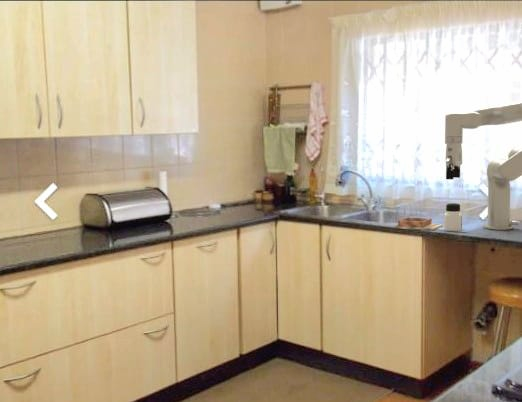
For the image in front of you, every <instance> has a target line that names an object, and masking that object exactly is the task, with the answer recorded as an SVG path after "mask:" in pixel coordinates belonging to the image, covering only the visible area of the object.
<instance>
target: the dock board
mask: <svg viewBox="0 0 522 402" xmlns="http://www.w3.org/2000/svg"><path fill="white" fill-rule="evenodd" d="M432 222H433V221H432V218H429V217H412V216H410V217H409V216H407V217H404V218H401V219H399V220H398V221H397V225H395V229H403V230H404V229H405V230H414V229H421V230H420V231H431V232H433V230H434V231H436V230H438V229H440V228H441V227H444V224H443V223H432ZM437 228H438V229H437ZM435 229H436V230H435Z"/></svg>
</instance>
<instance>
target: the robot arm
mask: <svg viewBox="0 0 522 402" xmlns="http://www.w3.org/2000/svg"><path fill="white" fill-rule="evenodd" d="M444 117H445V120H444V122H445V123H444V125H445V128H444V131H445V132H444V144H445V145H446V147H445V167H446V168H445V179H446V180H454V178H457V179H458V178H461V166H462V165H463V147H462V144H463V137H464V135H463V131H464V129H466V130H474V129H477V128H479V127H482V126H497V125H498V126H499V125H506V124H512V123H517V122H522V101H518V102H512V103H507V104H501V105H497V106H496V105H495V106H492V107H491V106H490V107H486V108H482V109H477V110H475V109H474V110H470V111H465V112H464V111H463V112H447V113H446V114H445V116H444ZM507 156H508V157H507V159H506V158H496V159H493V160H491V161H490V162H489V163H488V165H487V167H486V176H487V188H488V189H487V191H488V192H487V196H488V197H487V223H485V224H483V228H485V229H489V230H496V231H499V230H500V231H502V230H503V231H504V230H512V229H514V226H520V225H521V224H520V223H521V222H520V221H519V220H512V219H513V218H512V217H511V182H513V181H515V180H517V179H518V178H520V177H521V176H522V142H521V143H520V144H518V145H517V146H515V147H513V148H512V149H511V150H510V151H509V152H508V155H507Z"/></svg>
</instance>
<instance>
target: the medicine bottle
mask: <svg viewBox="0 0 522 402" xmlns="http://www.w3.org/2000/svg"><path fill="white" fill-rule="evenodd" d="M445 207H446V208H445V210H446V211H445V213H444V217H443V219H444V220H443V221H444V222H443V223H444V224H443V227H444V230H445V231H446V232H449V231H450V232H462V229H463V228H462V227H463V215H462V214H461V204H459V203H456V202H455V203H454V202H453V203H452V202H451V203H446V206H445Z"/></svg>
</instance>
